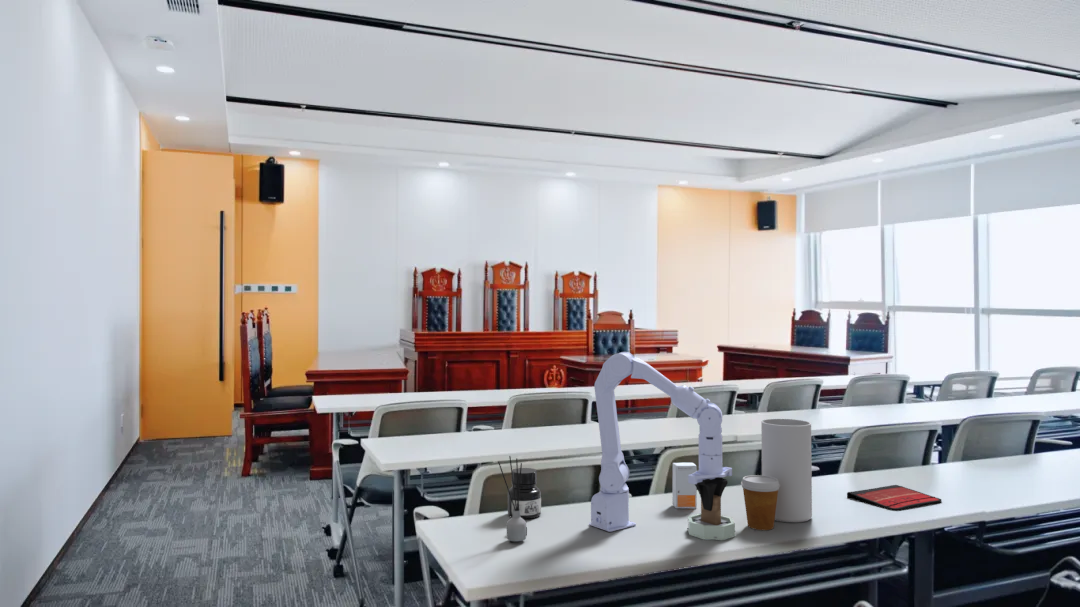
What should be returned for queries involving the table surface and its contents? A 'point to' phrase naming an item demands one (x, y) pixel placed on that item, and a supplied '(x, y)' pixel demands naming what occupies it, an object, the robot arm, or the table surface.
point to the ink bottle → (525, 494)
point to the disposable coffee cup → (760, 500)
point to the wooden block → (712, 512)
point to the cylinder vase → (789, 466)
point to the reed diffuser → (515, 514)
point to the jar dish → (711, 528)
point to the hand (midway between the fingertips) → (710, 508)
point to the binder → (893, 497)
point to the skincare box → (684, 486)
